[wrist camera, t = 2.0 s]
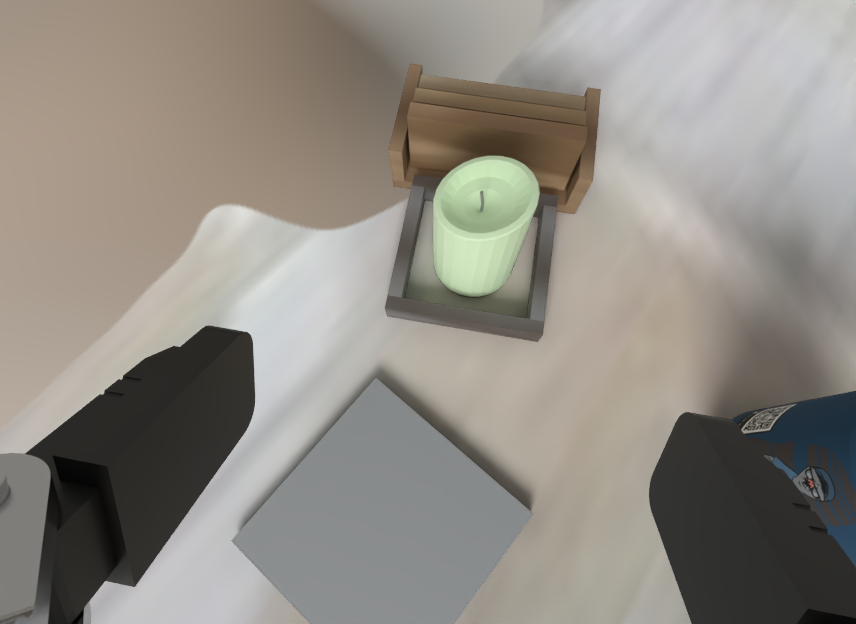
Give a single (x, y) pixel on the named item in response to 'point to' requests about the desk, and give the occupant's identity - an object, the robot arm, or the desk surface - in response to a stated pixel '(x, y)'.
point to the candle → (482, 223)
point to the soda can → (814, 456)
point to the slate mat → (382, 522)
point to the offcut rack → (477, 137)
